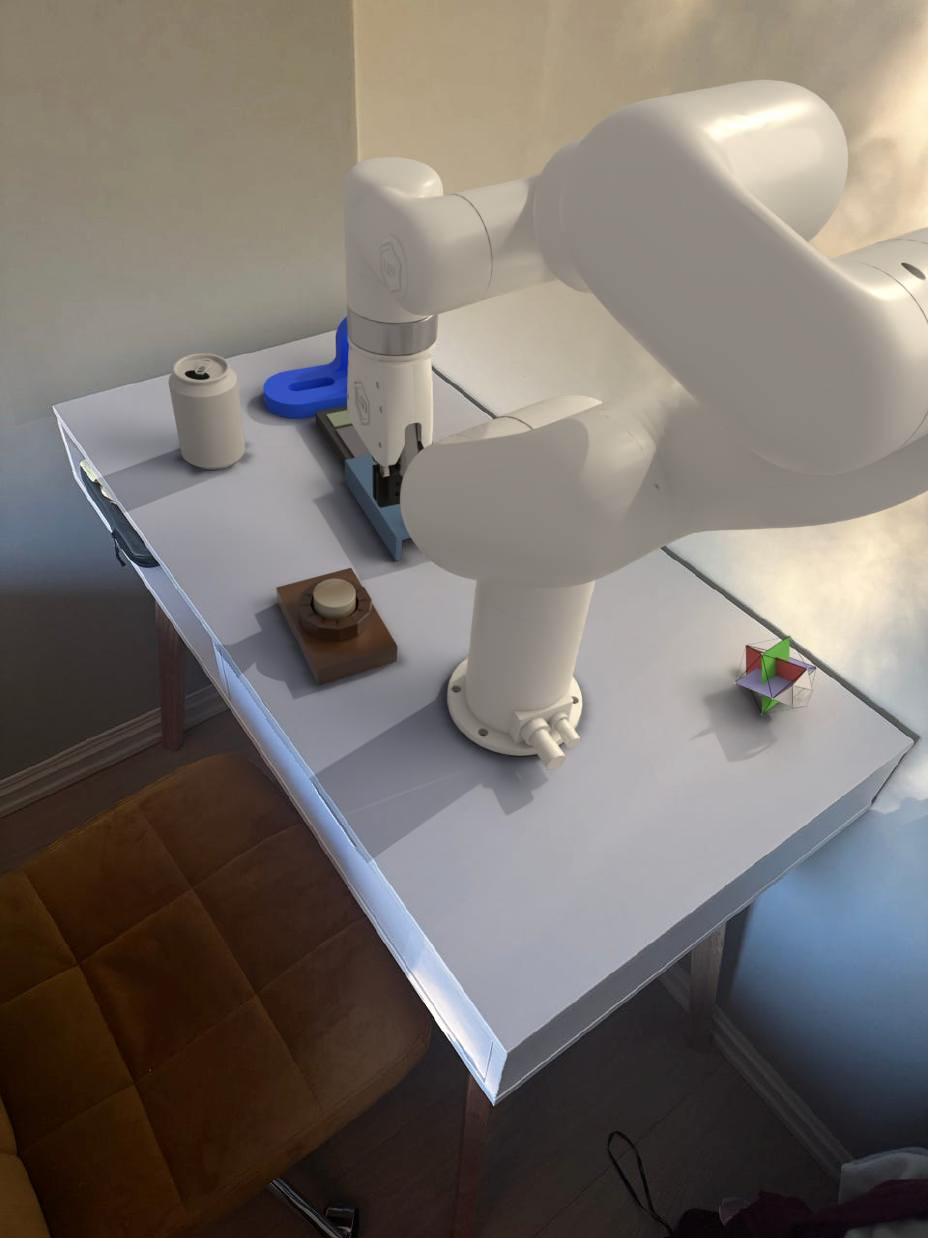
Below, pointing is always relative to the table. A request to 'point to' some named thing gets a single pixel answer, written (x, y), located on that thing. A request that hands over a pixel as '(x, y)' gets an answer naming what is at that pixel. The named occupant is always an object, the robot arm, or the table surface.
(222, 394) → the can
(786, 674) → the geometric puzzle
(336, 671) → the brown wooden stand
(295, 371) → the bracket
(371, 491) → the cover
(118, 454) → the table surface
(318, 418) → the calculator
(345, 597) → the bell button
